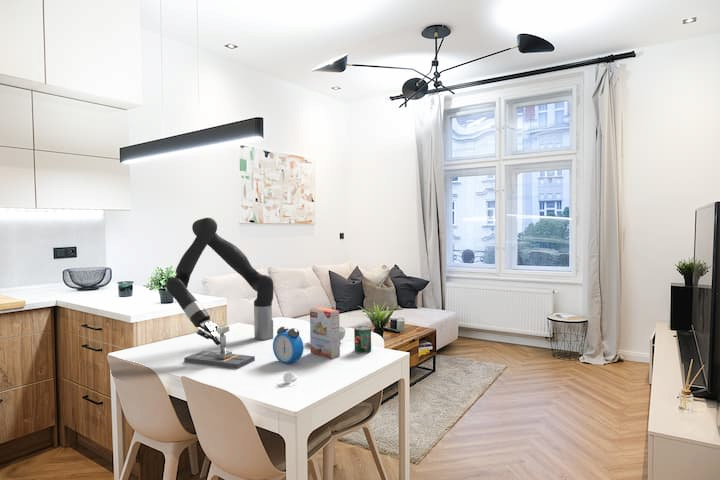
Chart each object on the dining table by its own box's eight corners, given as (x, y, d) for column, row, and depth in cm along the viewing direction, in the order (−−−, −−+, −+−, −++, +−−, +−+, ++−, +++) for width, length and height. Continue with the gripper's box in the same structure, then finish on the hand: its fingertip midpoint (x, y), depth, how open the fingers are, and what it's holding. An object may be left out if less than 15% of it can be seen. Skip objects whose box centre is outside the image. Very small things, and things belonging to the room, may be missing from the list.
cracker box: (309, 353, 210) (309, 308, 210) (319, 350, 215) (318, 306, 214) (330, 359, 201) (330, 311, 200) (340, 356, 205) (339, 309, 204)
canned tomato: (374, 351, 213) (374, 327, 213) (362, 354, 207) (362, 330, 207) (362, 348, 219) (362, 325, 218) (350, 351, 213) (350, 327, 213)
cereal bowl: (333, 348, 218) (333, 333, 218) (305, 344, 226) (305, 330, 226) (351, 340, 233) (351, 326, 233) (324, 337, 241) (324, 323, 241)
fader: (214, 357, 196) (213, 328, 196) (222, 354, 202) (222, 325, 201) (223, 358, 195) (223, 329, 194) (232, 355, 200) (231, 326, 199)
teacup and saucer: (292, 378, 177) (292, 368, 177) (304, 383, 171) (304, 372, 171) (273, 383, 171) (273, 373, 171) (285, 389, 165) (284, 378, 165)
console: (184, 362, 199) (184, 357, 198) (203, 354, 210) (203, 350, 210) (237, 368, 188) (237, 363, 188) (254, 360, 199) (254, 356, 199)
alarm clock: (272, 361, 198) (271, 327, 198) (282, 358, 203) (282, 324, 203) (294, 366, 191) (293, 330, 190) (304, 362, 196) (304, 328, 195)
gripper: (190, 311, 196) (214, 341, 191) (211, 306, 208) (234, 334, 204) (181, 322, 198) (204, 353, 194) (202, 316, 210) (224, 345, 206)
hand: (219, 343), depth 199 cm, fingers closed
